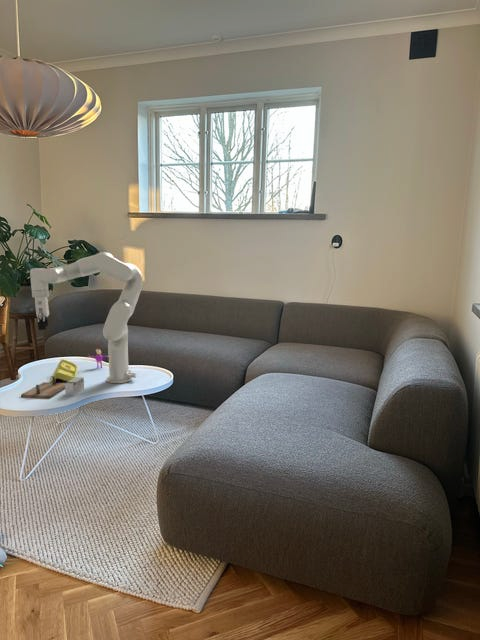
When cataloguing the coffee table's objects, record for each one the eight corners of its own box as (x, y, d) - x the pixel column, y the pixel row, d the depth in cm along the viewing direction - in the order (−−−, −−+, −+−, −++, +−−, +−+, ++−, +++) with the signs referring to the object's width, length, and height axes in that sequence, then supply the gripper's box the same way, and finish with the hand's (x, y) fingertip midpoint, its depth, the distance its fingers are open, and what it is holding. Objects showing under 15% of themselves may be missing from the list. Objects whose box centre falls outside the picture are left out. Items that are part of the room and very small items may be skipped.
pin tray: (70, 385, 208) (69, 375, 207) (50, 398, 190) (49, 387, 189) (43, 384, 209) (43, 374, 209) (21, 397, 192) (20, 386, 191)
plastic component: (75, 378, 213) (54, 371, 209) (69, 391, 213) (48, 384, 210) (78, 364, 232) (59, 357, 228) (72, 376, 232) (54, 370, 229)
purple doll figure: (110, 366, 241) (109, 346, 239) (109, 368, 238) (107, 347, 236) (89, 367, 240) (88, 346, 238) (88, 368, 237) (87, 347, 235)
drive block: (84, 389, 203) (83, 377, 202) (73, 396, 193) (73, 383, 192) (76, 389, 203) (75, 377, 202) (65, 396, 194) (64, 383, 193)
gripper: (46, 295, 201) (49, 330, 204) (50, 291, 217) (53, 324, 220) (29, 295, 199) (32, 331, 202) (34, 292, 215) (37, 325, 218)
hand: (43, 327), depth 211 cm, fingers open, 9 cm apart
